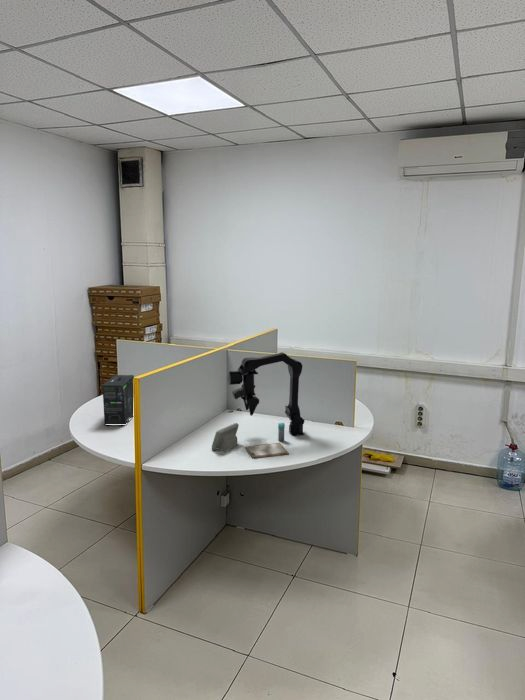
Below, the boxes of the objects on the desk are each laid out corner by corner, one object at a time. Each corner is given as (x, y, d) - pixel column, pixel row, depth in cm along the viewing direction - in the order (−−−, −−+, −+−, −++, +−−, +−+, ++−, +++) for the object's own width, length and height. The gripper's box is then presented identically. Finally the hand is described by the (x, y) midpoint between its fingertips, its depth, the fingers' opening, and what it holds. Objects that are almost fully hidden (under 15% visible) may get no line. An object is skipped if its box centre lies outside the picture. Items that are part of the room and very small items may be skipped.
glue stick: (283, 439, 248) (283, 422, 246) (285, 441, 245) (285, 424, 243) (277, 439, 247) (277, 423, 245) (279, 442, 244) (279, 425, 242)
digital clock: (232, 440, 247) (232, 420, 245) (244, 445, 240) (244, 424, 238) (207, 448, 236) (206, 427, 234) (218, 453, 229) (218, 432, 227)
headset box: (125, 426, 267) (123, 381, 262) (104, 426, 267) (101, 380, 262) (136, 413, 289) (134, 371, 284) (116, 413, 289) (114, 371, 284)
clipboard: (279, 443, 242) (279, 440, 241) (289, 454, 228) (289, 451, 228) (245, 447, 237) (245, 444, 236) (252, 458, 223) (252, 455, 223)
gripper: (229, 379, 250) (230, 408, 253) (237, 389, 232) (237, 420, 235) (250, 378, 253) (250, 406, 256) (259, 387, 235) (259, 417, 238)
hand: (249, 412), depth 246 cm, fingers open, 9 cm apart
